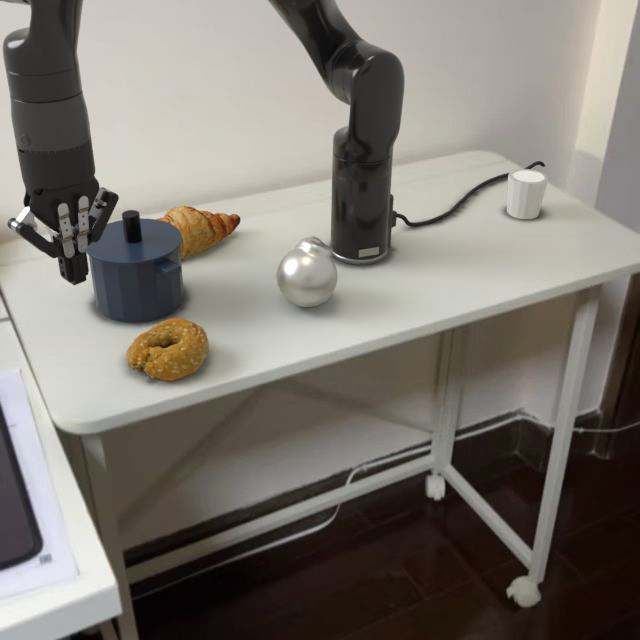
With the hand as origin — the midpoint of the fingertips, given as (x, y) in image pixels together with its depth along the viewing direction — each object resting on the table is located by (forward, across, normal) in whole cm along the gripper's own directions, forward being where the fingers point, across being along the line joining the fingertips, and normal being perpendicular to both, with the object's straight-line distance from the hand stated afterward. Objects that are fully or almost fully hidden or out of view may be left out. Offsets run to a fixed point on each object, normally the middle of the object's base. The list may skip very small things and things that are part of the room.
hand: (75, 280), depth 99 cm
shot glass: (+17, -85, +8) cm, 87 cm away
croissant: (+17, -34, -24) cm, 45 cm away
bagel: (+17, -12, 0) cm, 21 cm away
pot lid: (+8, -18, -16) cm, 25 cm away
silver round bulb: (+17, -36, +2) cm, 40 cm away
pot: (+17, -19, -15) cm, 30 cm away
